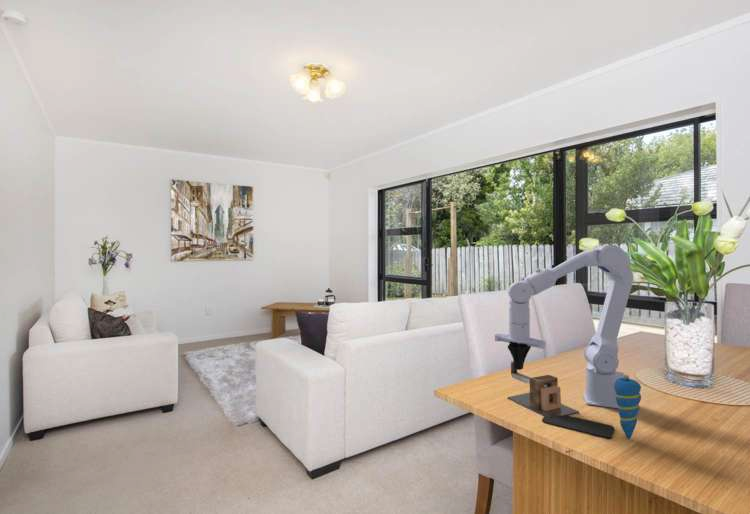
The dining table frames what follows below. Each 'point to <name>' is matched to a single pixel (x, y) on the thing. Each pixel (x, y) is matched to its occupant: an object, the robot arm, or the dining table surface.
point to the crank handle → (520, 375)
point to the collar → (545, 398)
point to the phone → (581, 425)
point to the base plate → (525, 401)
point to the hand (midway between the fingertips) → (519, 368)
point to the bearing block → (536, 386)
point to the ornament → (627, 403)
